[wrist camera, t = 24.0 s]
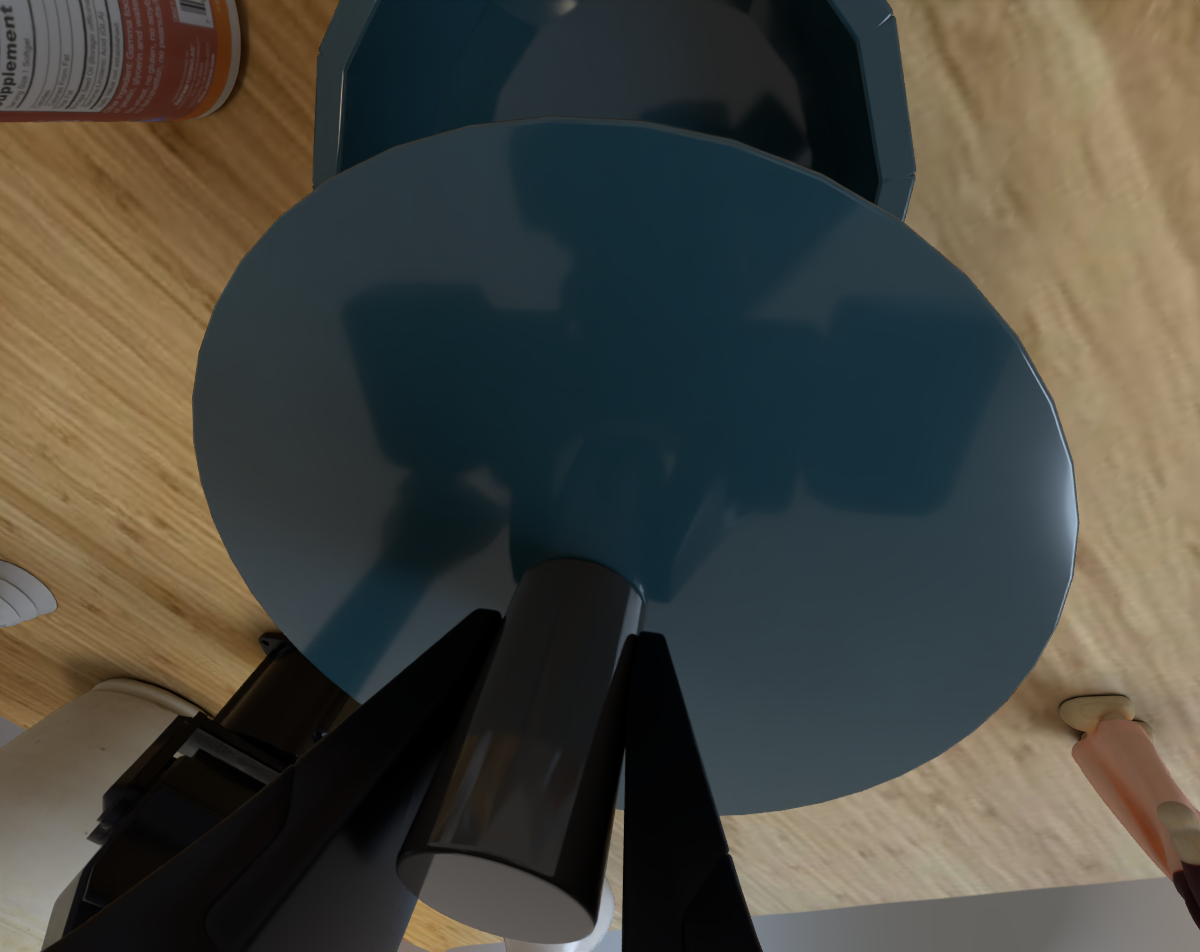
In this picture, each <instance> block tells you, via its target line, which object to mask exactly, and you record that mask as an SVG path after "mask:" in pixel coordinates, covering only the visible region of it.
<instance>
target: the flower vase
mask: <svg viewBox="0 0 1200 952" xmlns="http://www.w3.org/2000/svg"><path fill="white" fill-rule="evenodd" d="M614 910H615V899H614V895H613V892H612V889H611V886H610V883H609V881H608V879H607V877H606V875H605V878H604V885H603V891H602V897H601V904H600V910H599V916H598V922H597V925H596V927H595V929H594V931H593V932H592V934H591V935H590V936H588V937H587V938H585V939H583V940H580V941H577V942H572V943H565V944H538V943H530V942H523V941H518V940H513V939H508V938H504V937H503V938H504V941H505V946H506V952H591V951H592V950H593V949H594V948H595V947H596V946H597V945H598V944H599V943H600V941H601V940H602V939H603V938H604V936H605V935H606V933H607V931H608V929H609V926H610V923H611V920H612V917H613V914H614Z"/></svg>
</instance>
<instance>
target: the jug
mask: <svg viewBox="0 0 1200 952" xmlns="http://www.w3.org/2000/svg"><path fill="white" fill-rule="evenodd" d="M199 711H201V712H203V713H205V712H204V711H203V710H201V709H200V708H198V707H197V706H195V705H194V704H191V703H189V702H187V701H185V700H183V699H182V698H180V697H178V696H176V695H174V694H173V693H171V692H168V691H166V690H164V689H161V688H159V687H156V686H154V685H151V684H147V683H142V682H139V681H137V680H133V679H128V678H114V679H109V680H106V681H103V682H101V683H99V684H97V685H96V686H95V687H94V688H93V689H92V690H91V691H89V692H87V693H85V694H83V695H81V696H79V697H78V698H76V699H74V700H72V701H71V702H69V703H67V704H65V705H64V706H62V707H60V708H59V709H57V710H56V711H54V712H53V713H51V714H50V715H48V716H47V717H45V718H44V719H43V720H41V721H40V722H38V723H37V724H35V725H34V726H32V727H31V728H29V729H28V730H26V731H25V732H23V733H22V734H20V735H19V736H17V737H16V738H15V739H13V740H12V741H10V742H9V743H7V744H6V745H4V746H3V747H2V748H0V952H40V951H41V948H42V945H43V941H44V938H45V934H46V930H47V927H48V923H49V920H50V916H51V913H52V909H53V906H54V903H55V901H56V899H57V898H58V897H59V895H60V894H61V893H62V892H63V890H64V889H65V888H66V887H67V886H68V885H69V883H70V882H71V881H72V880H73V879H74V878H75V876H76V875H77V874H78V873H79V872H80V871H81V869H82V868H83V867H84V866H85V865H86V864H87V862H88V861H89V860H90V859H91V858H92V856H93V855H94V854H95V853H96V852H97V851H98V849H99V848H100V847H101V846H100V845H97V844H95V843H93V842H91V841H89V840H87V839H86V838H87V837H88V836H89V835H90V834H91V832H92V831H93V830H94V829H95V828H96V827H97V825H98V824H99V823H100V822H97V821H96V820H97V819H98V818H99V816H100V815H101V814H102V796H103V795H104V794H105V792H106V791H107V790H108V789H109V788H110V787H111V786H112V785H113V784H114V783H115V782H116V781H117V780H118V779H119V778H120V776H121V775H122V774H123V773H124V772H125V771H126V770H127V769H128V768H129V767H130V766H131V765H132V764H133V763H134V762H135V761H136V760H137V759H138V758H139V757H140V756H141V755H142V754H143V753H144V752H145V750H146V749H147V748H148V747H149V746H150V745H151V744H152V743H153V742H154V741H155V740H156V739H157V738H158V737H159V736H160V734H161V733H162V732H163V731H164V730H165V729H166V728H167V727H168V726H169V725H170V724H171V722H172V721H173V720H174V719H175V718H176V717H177V716H178V715H182V716H188V717H190V716H191V717H192V718H193V717H194V716H195V715H196V714H197V713H198V712H199ZM205 714H206V713H205ZM206 715H207V714H206ZM208 718H209V719H211V720H213V719H214V718H213V717H211V716H209V715H208ZM180 756H184V755H182V754H180V753H178V752H177V753H176V754H175V755H174V756H173V757H175V758H178V757H180Z"/></svg>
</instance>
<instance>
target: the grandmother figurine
mask: <svg viewBox="0 0 1200 952" xmlns="http://www.w3.org/2000/svg"><path fill="white" fill-rule="evenodd" d="M1059 713H1060V716H1061V718H1062V719H1063V720H1064V721H1065V722H1066V723H1067V724H1068V725H1070V726H1072V727H1073V728H1075V729H1077V730H1080V731H1084V732H1085V733H1083V735H1082V736H1081V741H1079V742H1077V743H1076V744H1075V745H1074V746H1073V748H1072V756H1073V758H1074V760H1075V761H1076V763H1077V764H1078V765H1079V767H1080V768H1081V770H1082V771H1083V773H1084V774H1085V776H1086V777H1087V779H1088V780H1089V782H1090V783H1091V785H1092V786H1093V787H1094V789H1095V790H1096V792H1097V793H1098V794H1099V796H1100V797H1101V798H1102V800H1103V801H1104V802H1105V804H1106V805H1107V806H1108V807H1109V809H1110V810H1111V811H1112V812H1113V814H1114V815H1115V816H1116V817H1117V819H1118V820H1119V821H1120V822H1121V823H1122V825H1123V826H1124V827H1125V828H1126V830H1127V831H1128V832H1129V833H1130V835H1131V836H1132V837H1133V838H1134V840H1135V841H1136V842H1137V843H1138V844H1139V846H1140V847H1141V848H1142V849H1143V850H1144V851H1145V853H1146V854H1147V855H1148V856H1149V857H1150V858H1151V860H1152V861H1153V862H1154V863H1155V864H1156V865H1157V866H1158V867H1159V868H1160V869H1161V871H1162V872H1163V873H1164V874H1165V875H1166V876H1167V877H1168V878H1169V879H1170V880H1171V881H1172V882H1173V883H1174V885H1175V887H1176V889H1177V891H1178V892H1179V893H1180V895H1181V896H1182V897H1183V898H1184V900H1185V903H1186V906H1187V908H1188V910H1189V912H1190V914H1191V916H1192V918H1193V920H1194V922H1195V923H1196V925H1197V926H1198V928H1199V929H1200V812H1199V811H1198V810H1197V809H1196V808H1195V807H1194V806H1193V805H1192V804H1191V803H1190V801H1189V800H1188V799H1187V798H1186V796H1185V795H1184V794H1183V792H1182V791H1181V790H1180V789H1179V787H1178V786H1177V785H1176V783H1175V782H1174V780H1173V779H1172V778H1171V775H1170V773H1169V771H1168V769H1167V767H1166V765H1165V764H1164V762H1163V760H1162V758H1161V757H1160V755H1159V754H1158V752H1157V750H1156V748H1155V746H1154V745H1153V743H1154V740H1155V734H1154V731H1153V729H1152V728H1151V727H1150V726H1149V725H1148V724H1146V723H1143V722H1137V721H1132V720H1133V718H1134V716H1135V707H1134V704H1133V702H1132V701H1131V700H1130V699H1129V698H1126V697H1123V696H1099V697H1080V698H1075V699H1072V700H1069V701H1066V702H1065V703H1063V704H1062V705H1061V707H1060V708H1059Z"/></svg>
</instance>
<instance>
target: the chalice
mask: <svg viewBox="0 0 1200 952" xmlns="http://www.w3.org/2000/svg"><path fill="white" fill-rule="evenodd" d="M56 608H57V604H56V600H55V598H54V597H53V595H52V593H51V592H50V591H49V590H48V589H47V588H46V587H45V585H44V584H42V583H41V582H40V581H39V580H38V579H36V578H35V577H34V576H32V575H31V574H29V573H28V572H26V571H24V570H23V569H21V568H19V567H17V566H15V565H13V564H11V563H7V562H4V561H1V560H0V627H1V628H2V627H9V626H14V625H18V624H19V622H22V621H27V620H31V619H34V618H36V616H38V615H43V614H47V613H51V612H54V611H55V610H56Z"/></svg>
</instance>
